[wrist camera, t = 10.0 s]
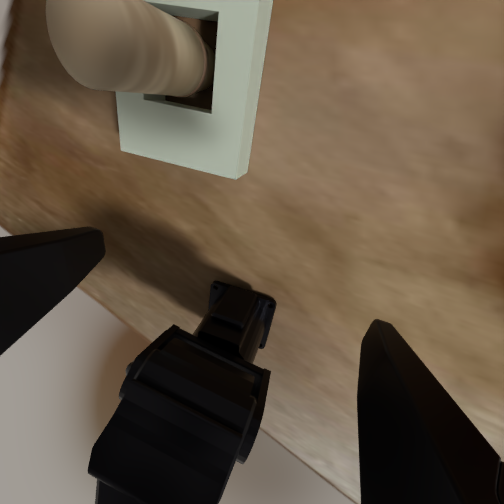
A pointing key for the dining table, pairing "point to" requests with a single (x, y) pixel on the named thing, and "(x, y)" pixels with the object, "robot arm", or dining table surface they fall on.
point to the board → (224, 95)
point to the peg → (129, 47)
